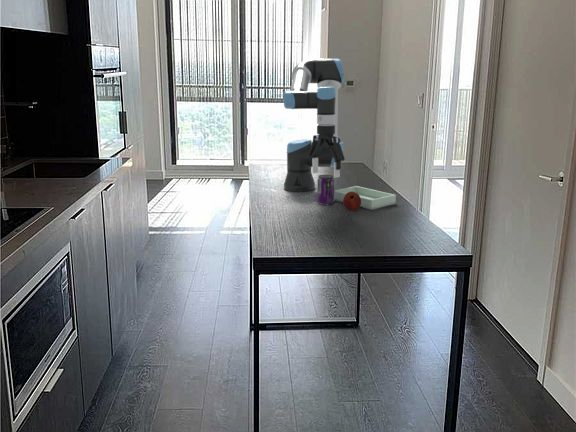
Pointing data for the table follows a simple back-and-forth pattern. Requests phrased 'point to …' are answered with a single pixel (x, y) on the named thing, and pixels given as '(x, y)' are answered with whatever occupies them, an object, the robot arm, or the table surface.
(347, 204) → the apple
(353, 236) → the table surface
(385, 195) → the tote
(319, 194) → the beverage can
